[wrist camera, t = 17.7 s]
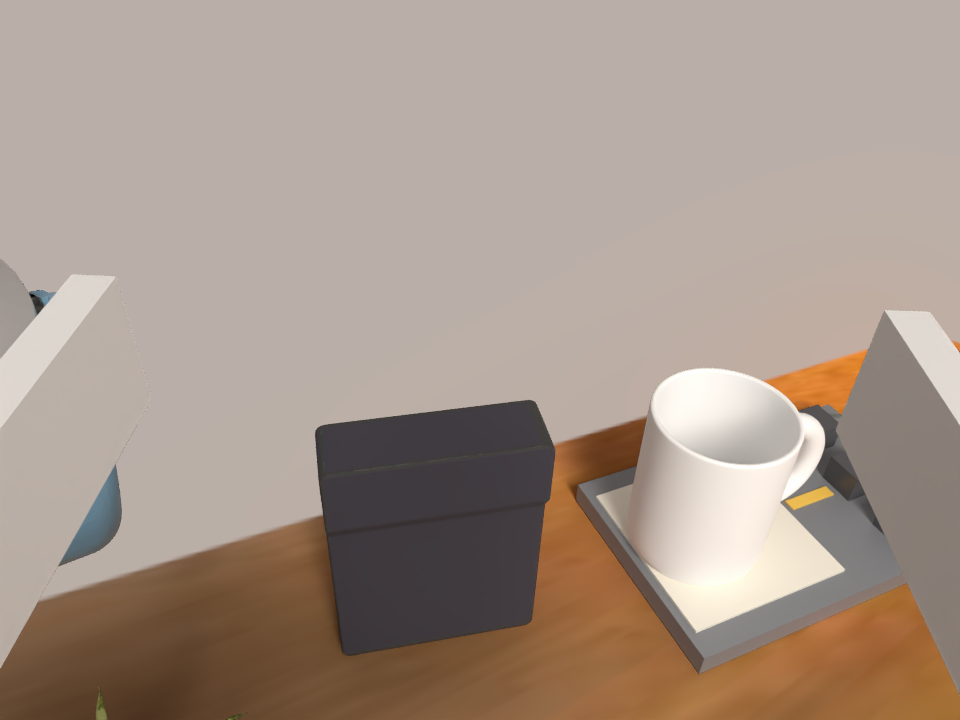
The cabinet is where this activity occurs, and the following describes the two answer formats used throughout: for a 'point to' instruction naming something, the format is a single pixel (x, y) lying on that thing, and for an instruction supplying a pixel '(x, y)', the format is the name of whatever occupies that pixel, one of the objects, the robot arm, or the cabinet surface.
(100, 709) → the house plant
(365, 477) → the dark grey box
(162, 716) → the cabinet surface
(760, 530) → the mug
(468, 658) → the cabinet surface
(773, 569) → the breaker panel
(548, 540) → the cabinet surface
